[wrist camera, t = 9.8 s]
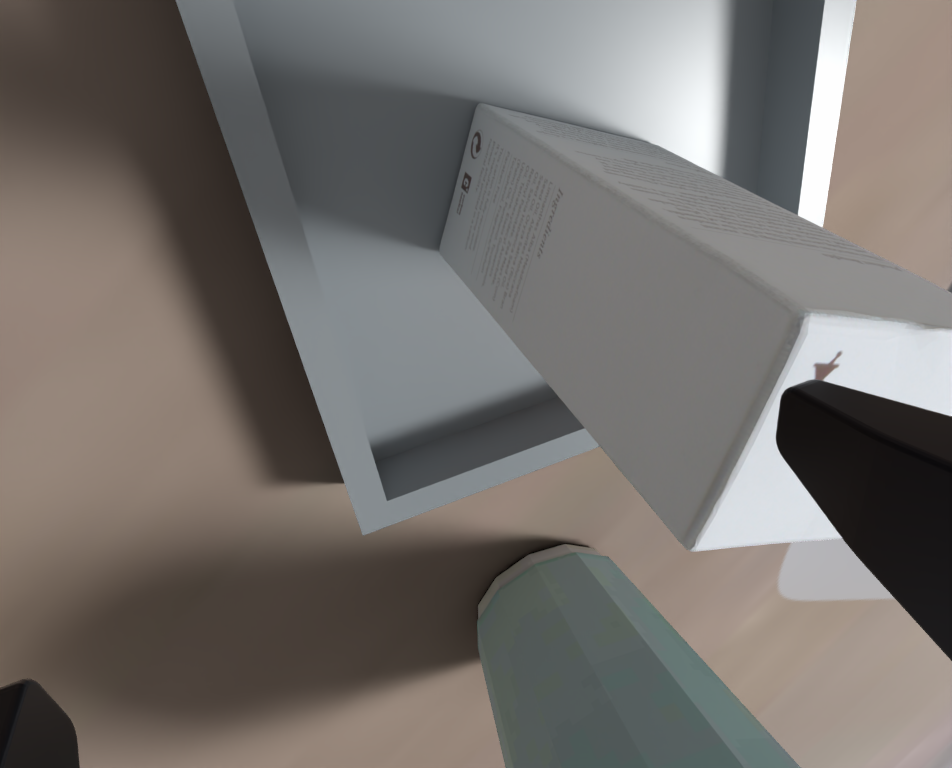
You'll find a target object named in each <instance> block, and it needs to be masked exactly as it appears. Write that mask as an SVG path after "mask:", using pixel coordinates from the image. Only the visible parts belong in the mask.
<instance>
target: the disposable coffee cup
mask: <svg viewBox="0 0 952 768" xmlns="http://www.w3.org/2000/svg"><path fill="white" fill-rule="evenodd" d="M477 633H478V650H479V655H480V659H481V663H482V668H483V672H484V676H485V681H486V685H487V689H488V693H489V698H490V702H491V706H492V711H493V715H494V719H495V724H496V728H497V732H498V737H499V741H500V745H501V750H502V754H503V758H504V762H505V767H506V768H801V767H800V766H799V765H798V764H797V763H796V762H795V761H794V760H793V759H792V758H791V757H790V755H789V754H788V753H787V752H786V751H785V750H784V749H783V748H782V747H781V746H780V744H779V743H778V742H777V741H776V740H775V739H774V738H773V737H772V736H771V735H770V733H769V732H768V731H767V730H766V729H765V728H764V727H763V726H762V725H761V724H760V722H759V721H758V720H757V719H756V718H755V717H754V716H753V715H752V714H751V713H750V712H749V710H748V709H747V708H746V707H745V706H744V705H743V704H742V703H741V702H740V701H739V699H738V698H737V697H736V696H735V695H734V694H733V693H732V692H731V691H730V690H729V688H728V687H727V686H726V685H725V684H724V683H723V682H722V681H721V680H720V679H719V677H718V676H717V675H716V674H715V673H714V672H713V671H712V670H711V669H710V668H709V667H708V665H707V664H706V663H705V662H704V661H703V660H702V659H701V658H700V657H699V656H698V654H697V653H696V652H695V651H694V650H693V649H692V648H691V647H690V646H689V645H688V643H687V642H686V641H685V640H684V639H683V638H682V637H681V636H680V635H679V634H678V632H677V631H676V630H675V629H674V628H673V627H672V626H671V625H670V624H669V623H668V622H667V620H666V619H665V618H664V617H663V616H662V615H661V614H660V613H659V612H658V611H657V609H656V608H655V607H654V606H653V605H652V604H651V603H650V602H649V601H648V600H647V598H646V597H645V596H644V595H643V594H642V593H641V592H640V591H639V590H638V589H637V588H636V586H635V585H634V584H633V583H632V582H631V581H630V580H629V579H628V578H627V577H626V575H625V574H624V573H623V572H622V571H621V570H620V569H619V568H618V567H617V566H616V564H615V563H614V562H613V561H612V560H611V559H610V558H609V557H607V556H601V555H600V554H599V553H598V552H597V551H596V550H595V549H594V548H588V547H581V546H575V545H568V544H563V545H560V546H556V547H553V548H550V549H546V550H543V551H539V552H536V553H532V554H529V555H527V556H526V557H524V558H523V559H522V560H520V561H519V562H517V563H516V564H515V565H513V566H512V567H510V568H509V569H507V570H506V571H505V572H503V573H502V574H500V575H499V576H498V577H496V578H495V580H494V581H493V583H492V585H491V586H490V588H489V589H488V591H487V592H486V594H485V595H484V597H483V598H482V600H481V602H480V603H479V605H478V621H477Z"/></svg>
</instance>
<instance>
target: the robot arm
mask: <svg viewBox="0 0 952 768" xmlns="http://www.w3.org/2000/svg"><path fill="white" fill-rule="evenodd" d="M776 444H777V447H778V450H779V452H780V454H781V456H782V457H783V459H784V460H785V462H786V463H787V464H788V466H789V467H790V468H791V470H792V471H793V472H794V474H795V475H796V476H797V478H798V479H799V480H800V482H801V483H802V485H803V486H804V487H805V489H806V490H807V491H808V493H809V494H810V495H811V497H812V498H813V499H814V501H815V502H816V503H817V505H818V506H819V508H820V509H821V510H822V512H823V513H824V514H825V516H826V517H827V518H828V520H829V521H830V522H831V524H832V525H833V526H834V528H835V529H836V531H837V532H838V533H839V535H840V536H841V537H842V538H843V539H844V541H845V542H846V543H847V544H848V546H849V547H850V548H851V549H852V551H853V552H854V553H855V554H856V556H857V557H858V558H859V559H860V560H861V561H862V562H863V563H864V565H865V566H866V567H867V568H868V569H869V570H870V571H871V572H872V574H873V575H874V576H875V577H876V578H877V579H878V580H879V581H880V582H881V584H882V585H883V586H884V587H885V588H886V589H887V590H888V591H889V592H890V593H891V594H892V596H893V597H894V598H895V599H896V600H897V601H898V602H899V603H900V604H901V606H902V607H903V608H904V609H905V610H906V611H907V612H908V613H909V614H910V615H911V617H912V618H913V619H914V620H915V621H916V622H917V623H918V624H919V625H920V627H921V628H922V629H923V630H924V631H925V632H926V633H927V634H928V635H929V636H930V638H931V639H932V640H933V641H934V642H935V643H936V644H937V645H938V646H939V647H940V649H941V650H942V651H943V652H944V653H945V654H946V655H947V656H948V657H949V658H950V660H951V661H952V416H949V415H945V414H941V413H938V412H934V411H931V410H927V409H923V408H920V407H916V406H913V405H909V404H905V403H902V402H898V401H894V400H891V399H887V398H884V397H880V396H876V395H873V394H869V393H865V392H862V391H858V390H855V389H851V388H847V387H844V386H840V385H836V384H833V383H829V382H826V381H822V380H817V379H812V380H807V381H805V382H802V383H799V384H797V385H794V386H792V387H789V388H787V389H786V390H785V391H784V392H783V394H782V395H781V399H780V406H779V413H778V421H777V429H776ZM0 768H80V767H79V755H78V743H77V736H76V732H75V728H74V726H73V723H72V721H71V720H70V718H69V717H68V715H67V714H66V713H65V712H64V711H63V710H62V709H61V708H60V707H59V705H58V704H57V703H56V702H55V701H54V700H53V699H52V698H51V697H50V695H49V694H48V693H47V692H46V691H45V690H44V689H43V688H42V687H41V685H40V684H38V683H37V682H36V681H34V680H32V679H22V680H20V681H17V682H14V683H12V684H9V685H6V686H4V687H1V688H0Z"/></svg>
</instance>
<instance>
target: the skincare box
mask: <svg viewBox="0 0 952 768" xmlns="http://www.w3.org/2000/svg"><path fill="white" fill-rule="evenodd" d="M439 252H440V254H441V256H442V257H443V258H444V260H445V261H446V262H447V263H448V264H449V265H450V267H451V268H452V269H453V270H454V272H455V273H456V274H457V275H458V276H459V278H460V279H461V280H462V281H463V282H464V284H465V285H466V286H467V287H468V288H469V290H470V291H471V292H472V293H473V294H474V295H475V297H476V298H477V299H478V300H479V302H480V303H481V304H482V305H483V306H484V308H485V309H486V310H487V311H488V312H489V313H490V315H491V316H492V317H493V318H494V320H495V321H496V322H497V323H498V324H499V326H500V327H501V328H502V329H503V330H504V332H505V333H506V334H507V335H508V336H509V338H510V339H511V340H512V341H513V342H514V344H515V345H516V346H517V347H518V349H519V350H520V351H521V352H522V354H523V355H524V356H525V357H526V358H527V360H528V361H529V362H530V363H531V364H532V366H533V367H534V368H535V369H536V370H537V372H538V373H539V374H540V375H541V376H542V377H543V378H544V379H545V381H546V382H547V383H548V385H549V386H550V387H551V388H552V389H553V390H554V392H555V393H556V394H557V395H558V397H559V398H560V399H561V400H562V401H563V402H564V404H565V405H566V406H567V407H568V409H569V410H570V411H571V412H572V413H573V415H574V416H575V417H576V418H577V419H578V421H579V422H580V423H581V424H582V425H583V426H584V428H585V429H586V430H587V431H588V433H589V434H590V435H591V436H592V437H593V439H594V440H595V441H596V442H597V443H598V445H599V446H600V447H601V448H602V449H603V451H604V452H605V453H606V454H607V455H608V456H609V458H610V459H611V460H612V461H613V463H614V464H615V465H616V466H617V468H618V469H619V470H620V471H621V472H622V474H623V475H624V476H625V477H626V478H627V479H628V481H629V482H630V483H631V484H632V485H633V487H634V488H635V489H636V490H637V491H638V493H639V494H640V495H641V496H642V497H643V498H644V500H645V501H646V502H647V503H648V504H649V506H650V507H651V508H652V509H653V510H654V512H655V513H656V514H657V515H658V516H659V518H660V519H661V520H662V521H663V523H664V524H665V525H666V526H667V527H668V529H669V530H670V531H671V532H672V533H673V535H674V536H675V537H676V538H677V540H678V541H679V542H680V543H681V544H682V545H683V546H684V547H685V548H686V549H687V550H689V551H705V550H715V549H724V548H733V547H744V546H755V545H766V544H777V543H791V542H804V541H818V540H830V539H843V538H842V537H841V536H840V535H839V533H838V532H837V531H836V529H835V528H834V526H833V525H832V524H831V522H830V521H829V520H828V518H827V517H826V516H825V514H824V513H823V512H822V510H821V509H820V508H819V506H818V505H817V503H816V502H815V501H814V499H813V498H812V497H811V495H810V494H809V493H808V491H807V490H806V489H805V487H804V486H803V485H802V483H801V482H800V480H799V479H798V478H797V476H796V475H795V474H794V472H793V471H792V470H791V468H790V467H789V466H788V464H787V463H786V462H785V460H784V459H783V457H782V456H781V454H780V452H779V450H778V447H777V444H776V429H777V421H778V413H779V406H780V399H781V395H782V394H783V392H784V391H785V390H786V389H787V388H789V387H792V386H794V385H797V384H799V383H802V382H805V381H807V380H812V379H817V380H822V381H826V382H829V383H833V384H836V385H840V386H844V387H847V388H851V389H855V390H858V391H862V392H865V393H869V394H873V395H876V396H880V397H884V398H887V399H891V400H894V401H898V402H902V403H905V404H909V405H913V406H916V407H920V408H923V409H927V410H931V411H934V412H938V413H941V414H945V415H949V416H952V293H951V292H949V291H947V290H945V289H943V288H941V287H939V286H937V285H935V284H934V283H932V282H930V281H928V280H926V279H924V278H922V277H920V276H918V275H916V274H914V273H912V272H910V271H908V270H906V269H904V268H902V267H900V266H898V265H896V264H894V263H892V262H890V261H888V260H886V259H884V258H882V257H880V256H878V255H876V254H874V253H872V252H870V251H868V250H866V249H864V248H862V247H860V246H858V245H856V244H854V243H852V242H850V241H848V240H846V239H844V238H842V237H840V236H838V235H836V234H834V233H832V232H830V231H828V230H826V229H824V228H822V227H820V226H818V225H816V224H814V223H812V222H810V221H808V220H806V219H804V218H802V217H800V216H798V215H796V214H794V213H792V212H790V211H788V210H786V209H784V208H782V207H780V206H778V205H776V204H773V203H771V202H769V201H767V200H765V199H763V198H761V197H759V196H757V195H755V194H753V193H751V192H750V191H748V190H746V189H744V188H742V187H740V186H738V185H736V184H734V183H732V182H730V181H728V180H726V179H724V178H722V177H720V176H718V175H716V174H714V173H712V172H710V171H708V170H706V169H704V168H702V167H700V166H697V165H696V164H694V163H692V162H690V161H688V160H686V159H684V158H682V157H680V156H678V155H676V154H674V153H672V152H670V151H668V150H666V149H664V148H662V147H660V146H658V145H654V144H650V143H646V142H642V141H638V140H634V139H630V138H626V137H622V136H617V135H613V134H609V133H605V132H600V131H596V130H592V129H588V128H584V127H580V126H576V125H572V124H567V123H563V122H559V121H555V120H551V119H546V118H542V117H538V116H533V115H529V114H525V113H521V112H517V111H512V110H508V109H504V108H499V107H495V106H491V105H487V104H483V103H479V104H478V105H477V107H476V109H475V113H474V117H473V121H472V124H471V128H470V132H469V136H468V140H467V144H466V148H465V151H464V155H463V160H462V164H461V168H460V171H459V175H458V179H457V183H456V186H455V191H454V195H453V199H452V202H451V206H450V209H449V213H448V217H447V221H446V225H445V228H444V232H443V235H442V239H441V244H440V248H439Z"/></svg>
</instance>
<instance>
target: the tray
mask: <svg viewBox="0 0 952 768" xmlns="http://www.w3.org/2000/svg"><path fill="white" fill-rule="evenodd" d="M176 3H177V6H178V9H179V12H180V15H181V17H182V20H183V23H184V26H185V29H186V32H187V35H188V37H189V40H190V43H191V46H192V49H193V52H194V55H195V57H196V60H197V63H198V66H199V69H200V72H201V75H202V77H203V80H204V83H205V86H206V89H207V92H208V95H209V97H210V100H211V103H212V106H213V109H214V112H215V115H216V117H217V120H218V123H219V126H220V129H221V132H222V135H223V137H224V140H225V143H226V146H227V149H228V152H229V155H230V157H231V160H232V163H233V166H234V169H235V172H236V175H237V177H238V180H239V183H240V186H241V189H242V192H243V195H244V197H245V200H246V203H247V206H248V209H249V212H250V215H251V217H252V220H253V223H254V226H255V229H256V232H257V235H258V237H259V240H260V243H261V246H262V249H263V252H264V255H265V257H266V260H267V263H268V266H269V269H270V272H271V275H272V277H273V280H274V283H275V286H276V289H277V292H278V295H279V297H280V300H281V303H282V306H283V309H284V312H285V315H286V317H287V320H288V323H289V326H290V329H291V332H292V335H293V337H294V340H295V343H296V346H297V349H298V352H299V355H300V357H301V360H302V363H303V366H304V369H305V372H306V375H307V377H308V380H309V383H310V386H311V389H312V392H313V395H314V397H315V400H316V403H317V406H318V409H319V412H320V415H321V417H322V420H323V423H324V426H325V429H326V432H327V435H328V437H329V440H330V443H331V446H332V449H333V452H334V455H335V457H336V460H337V463H338V466H339V469H340V472H341V475H342V477H343V480H344V483H345V486H346V489H347V492H348V495H349V497H350V500H351V503H352V506H353V509H354V512H355V515H356V517H357V520H358V523H359V526H360V529H361V532H362V535H366V534H369V533H371V532H374V531H377V530H379V529H382V528H385V527H387V526H390V525H393V524H395V523H398V522H400V521H403V520H406V519H408V518H411V517H414V516H416V515H419V514H422V513H424V512H427V511H430V510H432V509H435V508H438V507H440V506H443V505H446V504H448V503H451V502H454V501H456V500H459V499H462V498H464V497H467V496H469V495H472V494H475V493H477V492H480V491H483V490H485V489H488V488H491V487H493V486H496V485H499V484H501V483H504V482H507V481H509V480H512V479H515V478H517V477H520V476H523V475H525V474H528V473H531V472H533V471H536V470H538V469H541V468H544V467H546V466H549V465H552V464H554V463H557V462H560V461H562V460H565V459H568V458H570V457H573V456H576V455H578V454H581V453H584V452H586V451H589V450H592V449H594V448H597V447H600V446H599V445H598V443H597V442H596V441H595V440H594V439H593V437H592V436H591V435H590V434H589V433H588V431H587V430H586V429H585V428H584V426H583V425H582V424H581V423H580V422H579V421H578V419H577V418H576V417H575V416H574V415H573V413H572V412H571V411H570V410H569V409H568V407H567V406H566V405H565V404H564V402H563V401H562V400H561V399H560V398H559V397H558V395H557V394H556V393H555V392H554V390H553V389H552V388H551V387H550V386H549V385H548V383H547V382H546V381H545V379H544V378H543V377H542V376H541V375H540V374H539V373H538V372H537V370H536V369H535V368H534V367H533V366H532V364H531V363H530V362H529V361H528V360H527V358H526V357H525V356H524V355H523V354H522V352H521V351H520V350H519V349H518V347H517V346H516V345H515V344H514V342H513V341H512V340H511V339H510V338H509V336H508V335H507V334H506V333H505V332H504V330H503V329H502V328H501V327H500V326H499V324H498V323H497V322H496V321H495V320H494V318H493V317H492V316H491V315H490V313H489V312H488V311H487V310H486V309H485V308H484V306H483V305H482V304H481V303H480V302H479V300H478V299H477V298H476V297H475V295H474V294H473V293H472V292H471V291H470V290H469V288H468V287H467V286H466V285H465V284H464V282H463V281H462V280H461V279H460V278H459V276H458V275H457V274H456V273H455V272H454V270H453V269H452V268H451V267H450V265H449V264H448V263H447V262H446V261H445V260H444V258H443V257H442V256H441V254H440V252H439V248H440V244H441V239H442V235H443V232H444V228H445V225H446V221H447V217H448V213H449V209H450V206H451V202H452V199H453V195H454V191H455V186H456V183H457V179H458V175H459V171H460V168H461V164H462V160H463V155H464V151H465V148H466V144H467V140H468V136H469V132H470V128H471V124H472V121H473V117H474V113H475V109H476V107H477V105H478V104H479V103H483V104H487V105H491V106H495V107H499V108H504V109H508V110H512V111H517V112H521V113H525V114H529V115H533V116H538V117H542V118H546V119H551V120H555V121H559V122H563V123H567V124H572V125H576V126H580V127H584V128H588V129H592V130H596V131H600V132H605V133H609V134H613V135H617V136H622V137H626V138H630V139H634V140H638V141H642V142H646V143H650V144H654V145H658V146H660V147H662V148H664V149H666V150H668V151H670V152H672V153H674V154H676V155H678V156H680V157H682V158H684V159H686V160H688V161H690V162H692V163H694V164H696V165H697V166H700V167H702V168H704V169H706V170H708V171H710V172H712V173H714V174H716V175H718V176H720V177H722V178H724V179H726V180H728V181H730V182H732V183H734V184H736V185H738V186H740V187H742V188H744V189H746V190H748V191H750V192H751V193H753V194H755V195H757V196H759V197H761V198H763V199H765V200H767V201H769V202H771V203H773V204H776V205H778V206H780V207H782V208H784V209H786V210H788V211H790V212H792V213H794V214H796V215H798V216H800V217H802V218H804V219H806V220H808V221H810V222H812V223H814V224H816V225H818V226H820V227H822V228H823V222H824V215H825V209H826V202H827V195H828V189H829V182H830V175H831V168H832V162H833V155H834V148H835V141H836V135H837V128H838V121H839V114H840V108H841V101H842V94H843V87H844V81H845V74H846V67H847V61H848V54H849V47H850V40H851V34H852V27H853V20H854V13H855V7H856V0H176Z"/></svg>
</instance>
